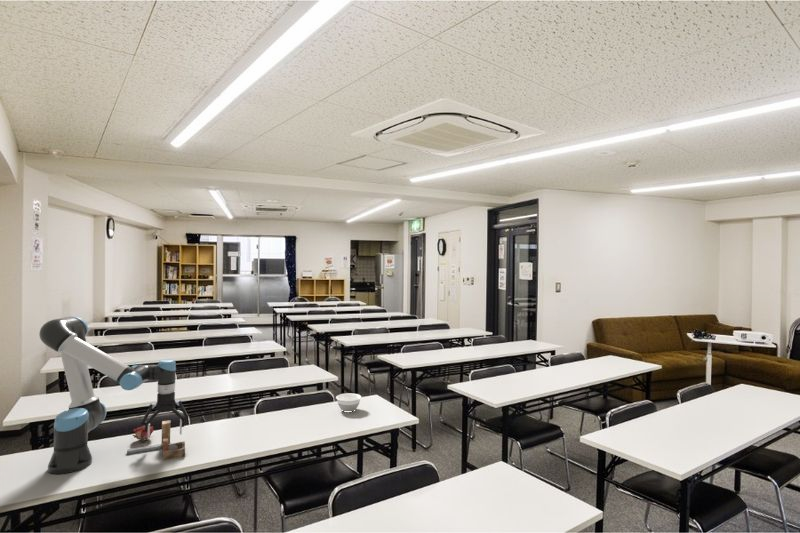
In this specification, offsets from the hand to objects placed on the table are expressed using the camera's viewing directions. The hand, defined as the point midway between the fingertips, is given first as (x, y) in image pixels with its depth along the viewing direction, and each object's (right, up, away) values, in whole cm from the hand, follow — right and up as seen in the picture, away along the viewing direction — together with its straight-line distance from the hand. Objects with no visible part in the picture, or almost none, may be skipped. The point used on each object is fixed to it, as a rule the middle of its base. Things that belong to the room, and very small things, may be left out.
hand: (164, 436), depth 202 cm
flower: (-15, -6, +8) cm, 18 cm away
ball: (+8, -3, -8) cm, 12 cm away
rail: (-6, -5, -3) cm, 8 cm away
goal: (+9, -6, -7) cm, 13 cm away
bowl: (+82, -8, +58) cm, 101 cm away
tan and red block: (+3, -5, -4) cm, 7 cm away
